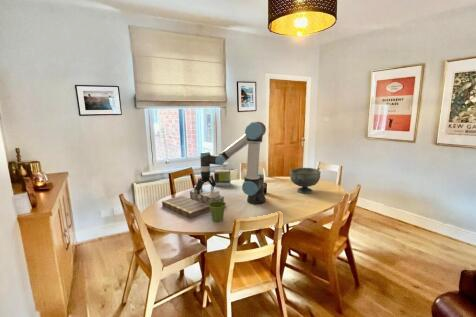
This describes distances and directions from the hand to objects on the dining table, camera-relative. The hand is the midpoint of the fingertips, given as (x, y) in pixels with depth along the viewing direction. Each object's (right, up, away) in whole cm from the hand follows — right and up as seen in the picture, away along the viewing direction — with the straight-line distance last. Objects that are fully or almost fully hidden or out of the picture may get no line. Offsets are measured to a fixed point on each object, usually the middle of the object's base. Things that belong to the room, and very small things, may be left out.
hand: (206, 195), depth 204 cm
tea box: (+11, +4, +47) cm, 49 cm away
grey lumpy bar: (0, -5, +1) cm, 5 cm away
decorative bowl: (+87, 0, +23) cm, 90 cm away
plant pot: (+12, -11, -34) cm, 38 cm away
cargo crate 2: (+8, +1, -8) cm, 11 cm away
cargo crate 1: (-7, +3, +6) cm, 10 cm away
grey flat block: (-14, -7, -15) cm, 21 cm away
